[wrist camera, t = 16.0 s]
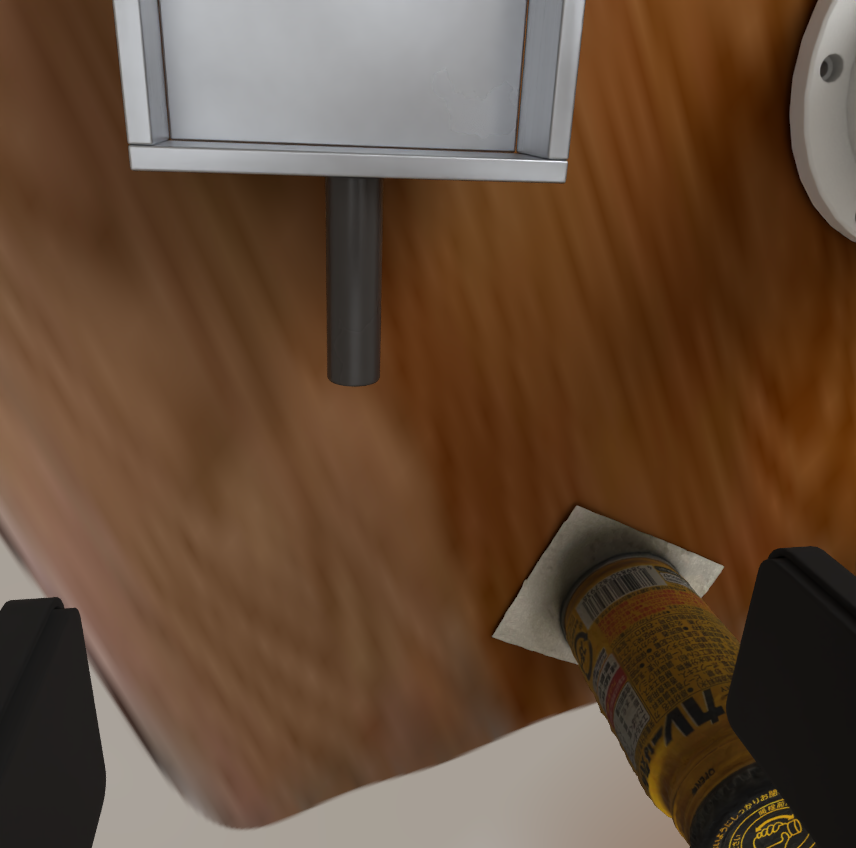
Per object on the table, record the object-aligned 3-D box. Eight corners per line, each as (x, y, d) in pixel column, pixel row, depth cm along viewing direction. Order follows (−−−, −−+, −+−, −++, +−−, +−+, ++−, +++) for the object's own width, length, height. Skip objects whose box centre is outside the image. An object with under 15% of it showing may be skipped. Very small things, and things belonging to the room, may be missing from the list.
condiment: (637, 683, 36) (790, 928, 25) (490, 634, 33) (592, 885, 23) (721, 563, 34) (927, 772, 23) (574, 501, 32) (728, 705, 21)
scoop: (565, -258, 19) (622, -331, 16) (510, 355, 26) (543, 391, 22) (107, -323, 17) (66, -422, 14) (171, 360, 24) (154, 400, 20)
